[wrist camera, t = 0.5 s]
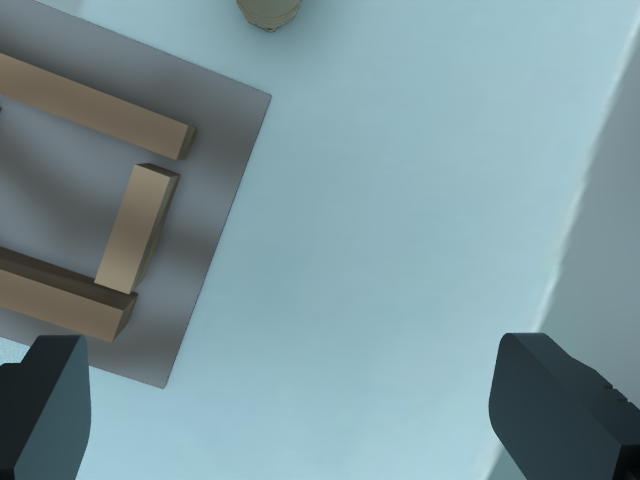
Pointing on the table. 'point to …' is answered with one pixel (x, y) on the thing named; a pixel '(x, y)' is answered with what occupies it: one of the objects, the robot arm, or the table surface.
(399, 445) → the table surface
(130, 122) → the collar
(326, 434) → the table surface
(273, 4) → the handle
